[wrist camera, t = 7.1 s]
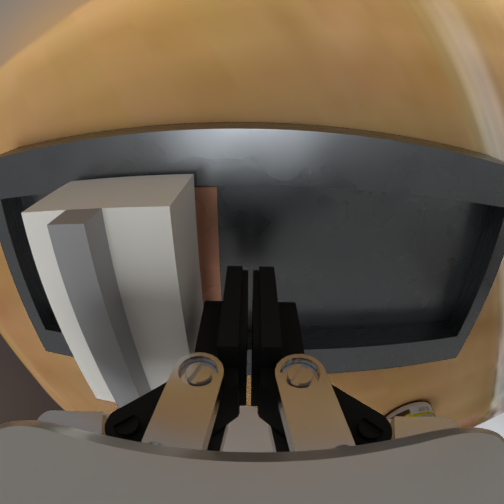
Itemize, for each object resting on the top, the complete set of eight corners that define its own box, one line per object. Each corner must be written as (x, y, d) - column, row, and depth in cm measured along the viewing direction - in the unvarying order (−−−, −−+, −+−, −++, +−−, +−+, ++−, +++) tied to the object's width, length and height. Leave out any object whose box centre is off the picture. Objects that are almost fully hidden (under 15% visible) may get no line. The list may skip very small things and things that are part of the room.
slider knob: (200, 164, 11) (157, 222, 6) (212, 338, 16) (199, 432, 11) (88, 170, 11) (1, 226, 6) (124, 332, 16) (90, 415, 11)
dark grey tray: (490, 156, 12) (526, 172, 10) (438, 327, 18) (455, 357, 15) (17, 147, 12) (-19, 162, 10) (64, 321, 18) (45, 350, 15)
